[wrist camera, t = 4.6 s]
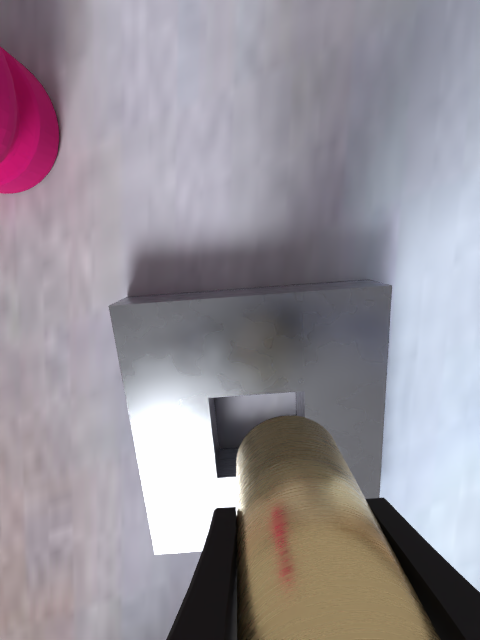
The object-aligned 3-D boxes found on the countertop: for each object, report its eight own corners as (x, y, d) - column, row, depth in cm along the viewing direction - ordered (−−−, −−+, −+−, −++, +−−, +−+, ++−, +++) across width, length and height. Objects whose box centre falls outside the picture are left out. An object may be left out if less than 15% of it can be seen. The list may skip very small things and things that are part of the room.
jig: (369, 279, 17) (392, 285, 14) (360, 504, 21) (376, 538, 18) (126, 297, 17) (108, 305, 14) (164, 518, 21) (154, 554, 18)
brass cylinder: (346, 419, 11) (529, 691, 4) (329, 508, 12) (457, 852, 5) (241, 411, 11) (252, 677, 4) (231, 501, 12) (226, 846, 5)
